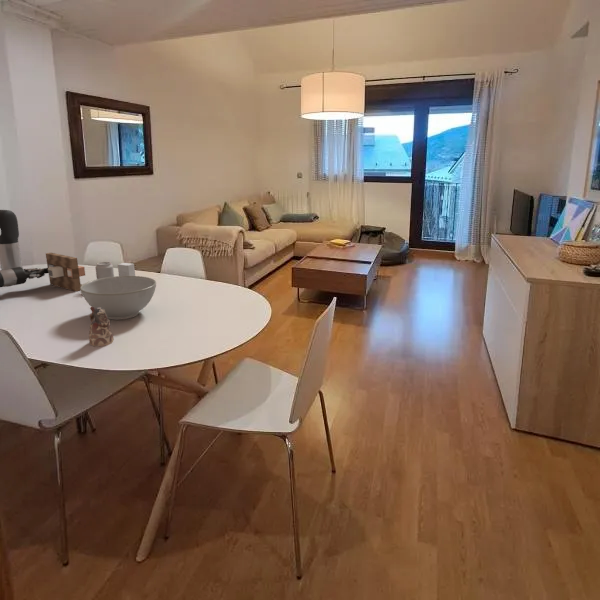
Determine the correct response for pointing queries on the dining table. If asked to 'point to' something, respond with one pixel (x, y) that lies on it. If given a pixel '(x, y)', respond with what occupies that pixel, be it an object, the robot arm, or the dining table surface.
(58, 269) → the key ivory
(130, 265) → the skincare box
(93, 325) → the figurine
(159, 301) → the dining table surface
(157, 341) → the dining table surface
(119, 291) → the decorative bowl
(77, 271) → the key panel
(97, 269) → the can
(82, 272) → the key terracotta
